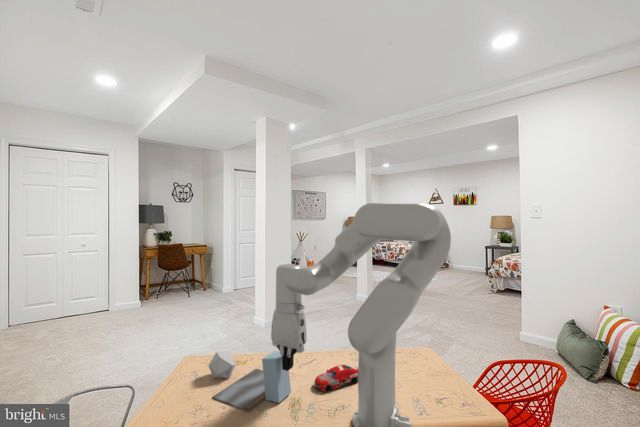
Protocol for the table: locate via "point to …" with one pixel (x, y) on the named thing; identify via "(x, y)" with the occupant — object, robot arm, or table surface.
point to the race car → (337, 377)
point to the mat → (244, 391)
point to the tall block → (275, 378)
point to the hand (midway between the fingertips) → (287, 368)
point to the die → (222, 365)
